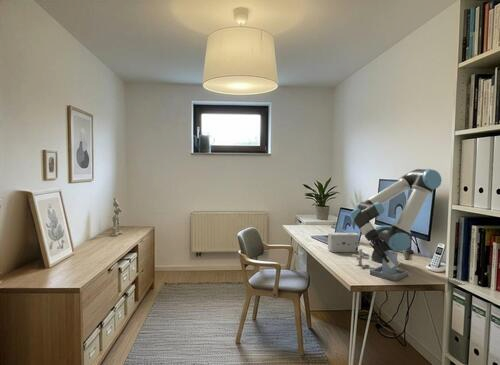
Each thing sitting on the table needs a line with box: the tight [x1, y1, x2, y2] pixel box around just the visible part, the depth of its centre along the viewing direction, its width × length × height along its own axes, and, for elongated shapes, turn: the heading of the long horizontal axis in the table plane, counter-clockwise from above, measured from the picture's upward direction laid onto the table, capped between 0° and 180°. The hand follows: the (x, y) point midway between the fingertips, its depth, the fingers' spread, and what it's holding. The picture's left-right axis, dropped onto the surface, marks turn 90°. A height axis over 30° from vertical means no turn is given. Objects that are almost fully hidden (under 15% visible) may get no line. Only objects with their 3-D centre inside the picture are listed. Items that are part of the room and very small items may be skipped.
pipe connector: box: [351, 248, 370, 266], centre depth 207 cm, size 10×10×10 cm
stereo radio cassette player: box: [327, 224, 360, 253], centre depth 240 cm, size 21×8×20 cm, turn 94°
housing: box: [369, 265, 409, 282], centre depth 188 cm, size 15×15×2 cm
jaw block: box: [381, 250, 399, 275], centre depth 188 cm, size 5×6×13 cm
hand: (395, 266), depth 185 cm, fingers open, 6 cm apart
